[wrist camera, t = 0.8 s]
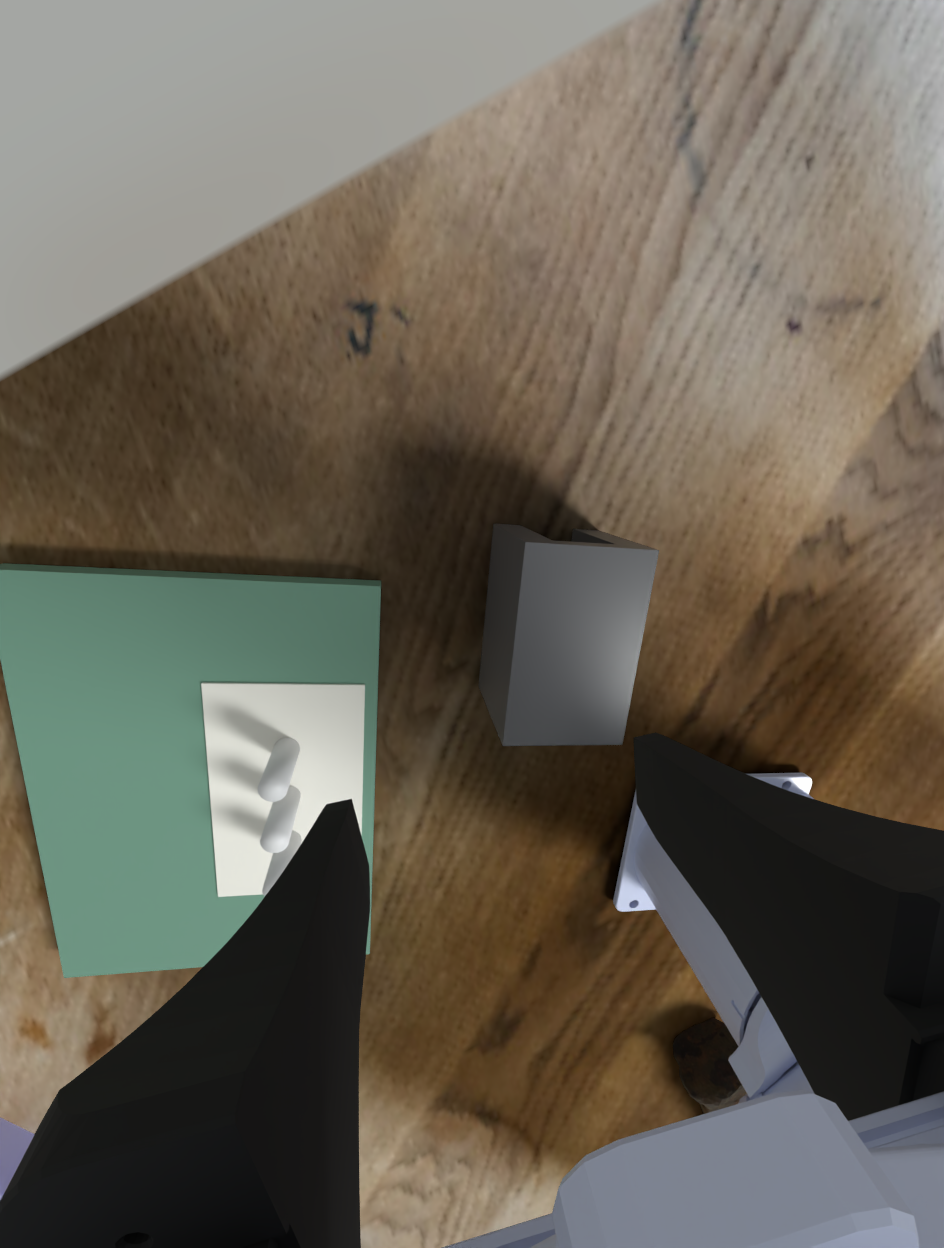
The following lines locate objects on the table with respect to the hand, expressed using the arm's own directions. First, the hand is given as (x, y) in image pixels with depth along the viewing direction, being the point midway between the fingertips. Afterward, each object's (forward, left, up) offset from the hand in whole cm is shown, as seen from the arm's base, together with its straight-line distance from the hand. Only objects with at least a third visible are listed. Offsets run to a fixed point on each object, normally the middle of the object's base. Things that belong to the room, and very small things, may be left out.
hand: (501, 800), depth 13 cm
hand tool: (-21, +32, -10) cm, 39 cm away
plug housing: (-3, -2, -10) cm, 10 cm away
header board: (+10, +6, -10) cm, 15 cm away
